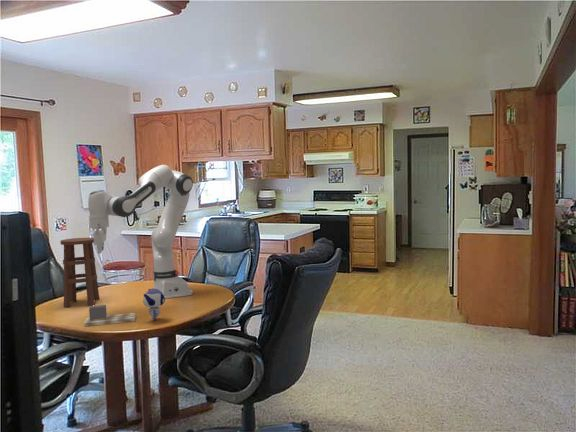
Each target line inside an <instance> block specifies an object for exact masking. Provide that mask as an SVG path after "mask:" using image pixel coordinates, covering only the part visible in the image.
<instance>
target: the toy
mask: <svg viewBox="0 0 576 432" xmlns="http://www.w3.org/2000/svg"><path fill="white" fill-rule="evenodd" d="M142 298H143V299H142V303H143V305H144V306H145V307H147V308H148V313H149V315H150V316H151V318H152V320H153V321H156V320H157V319H158V318H157V317H158V316H159V315H160V313H161V306H163V305H164V303H165V302H166V299H165V297H164V295H163V293H162V292H161V291H160V290H158V289H154V288H148V290H147V291H146V292H145V293H143V297H142Z"/></svg>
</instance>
